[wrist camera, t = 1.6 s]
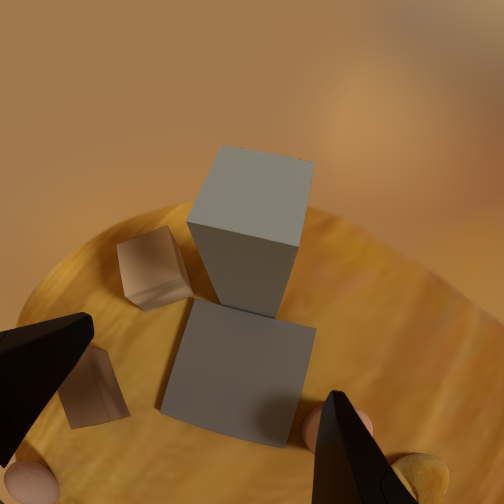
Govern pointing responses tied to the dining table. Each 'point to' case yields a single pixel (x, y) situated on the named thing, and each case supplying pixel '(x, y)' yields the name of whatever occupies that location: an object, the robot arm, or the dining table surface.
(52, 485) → the mauve oval ball
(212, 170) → the tall block
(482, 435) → the dining table surface
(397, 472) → the bread roll
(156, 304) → the beech cube
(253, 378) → the coaster
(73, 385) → the walnut brick
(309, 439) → the pink rounded pebble
